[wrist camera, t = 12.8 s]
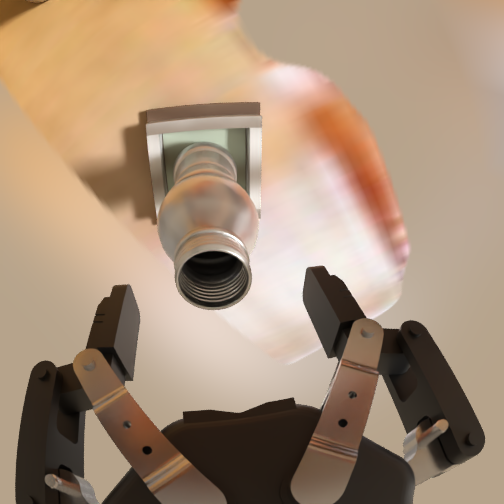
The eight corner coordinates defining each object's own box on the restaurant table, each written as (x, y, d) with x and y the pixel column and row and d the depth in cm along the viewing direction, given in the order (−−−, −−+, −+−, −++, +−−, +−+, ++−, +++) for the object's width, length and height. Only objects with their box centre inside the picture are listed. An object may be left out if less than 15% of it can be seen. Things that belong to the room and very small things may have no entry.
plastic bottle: (193, 204, 32) (194, 345, 15) (163, 155, 28) (114, 259, 11) (243, 178, 31) (300, 298, 14) (216, 126, 27) (245, 187, 11)
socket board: (148, 109, 26) (141, 112, 23) (257, 102, 28) (265, 103, 25) (161, 223, 34) (157, 237, 30) (256, 214, 35) (262, 228, 32)
